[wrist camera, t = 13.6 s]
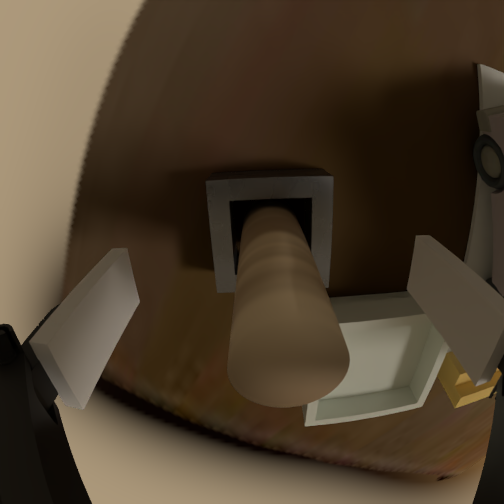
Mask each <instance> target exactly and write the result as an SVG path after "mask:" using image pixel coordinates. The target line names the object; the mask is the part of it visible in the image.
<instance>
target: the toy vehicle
mask: <svg viewBox="0 0 504 504" xmlns="http://www.w3.org/2000/svg"><path fill="white" fill-rule="evenodd" d="M476 115H477V119H478V124H479V129H480V131H482V133H484V134H483V135H481V136H480V137H478V138H477V140H476V142H475V143H474V147H473V159H474V162H475V166H476V170H477V171H478V173H479V175H480V177H481V179H482V180H483V181H484V182H485V183H486V184H487V185H488V186H489V187H492V188H495V189H498V190H496V191H494V192H492V193H491V201H492V218H493V269H492V277H491V278H489V279H487V280H486V282H487V283H488V284H489V285H491V286H492V287H494V288H495V289H496V290H497V291H498V292H500V293H501V294H502V296H504V105H502V106H497V107H492V108H487V109H483V110H478V111H477V112H476Z"/></svg>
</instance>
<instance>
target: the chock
mask: <svg viewBox="0 0 504 504" xmlns="http://www.w3.org/2000/svg"><path fill="white" fill-rule="evenodd" d="M501 374H502V373H501V372H500V370H499V369H498V368H497V370H496V371H495V373H494V375H493V377H492V379H491V381H489V382H486V383H484V384H481V385H478V386H475V385H474V384H473V382H472V381H471V379H470V377H469V376H468V374H467V373H466V371H465V370H464V368H463V367H462V365H461V364H460V362H459V361H458V359H457V358H456V356H455V355H454V353H453V352H448V353H446V355H445V358H444V360H443V363H442V365H441V367H440V370H439V372H438V374H437V377H438V378H439V380H440V382H441V384H442V386H443V387H444V389H445V391H446V393H447V395H448V397H449V398H450V400H451V402H452V404H453V406H454V408H457V407H460V406H463V405H466V404H469V403H472V402H474V401H477V400H480V399H482V398H485V397H488V396H489V395H490V393H491V391H492V390H493V388H494V386H495V385H496V383H497V381H498V379H499V378H500V376H501ZM495 393H497V392H495ZM495 393H494V394H495Z"/></svg>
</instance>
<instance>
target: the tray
mask: <svg viewBox="0 0 504 504" xmlns="http://www.w3.org/2000/svg"><path fill="white" fill-rule="evenodd" d="M329 299H330V301H331V304H332V307H333V309H334V312H335V315H336V317H337V320H338V323H339V326H340V328H341V331H342V334H343V337H344V339H345V342H346V345H347V348H348V351H349V355H350V364H349V368H348V372H347V374H346V376H345V377H344V379H343V380H342V382H341V383H340V384H339V385H338V386H337V387H336V388H335V389H334V390H333V391H332V392H330V393H329V394H328V395H326V396H324V397H322V398H321V399H318V400H316V401H314V402H311V403H308V404H305V405H302V409H303V416H304V424H305V426H314V425H324V424H332V423H340V422H347V421H354V420H360V419H366V418H372V417H377V416H382V415H387V414H392V413H397V412H401V411H406V410H410V409H414V408H418V407H422V405H423V403H424V401H425V399H426V397H427V395H428V393H429V391H430V389H431V387H432V385H433V383H434V381H435V379H436V376H437V374H438V372H439V370H440V367H441V365H442V363H443V360H444V358H445V355H446V353H447V350H448V348H449V346H448V345H447V343H446V342H445V340H444V339H443V337H442V336H441V335H440V333H439V332H438V330H437V329H436V328H435V326H434V325H433V323H432V322H431V321H430V319H429V318H428V317H427V315H426V314H425V313H424V311H423V310H422V309H421V307H420V306H419V305H418V303H417V302H416V301H415V299H414V298H413V297H412V295H411V294H410V293H409V292H408V291H403V292H393V293H382V294H370V295H358V296H345V297H331V298H329Z"/></svg>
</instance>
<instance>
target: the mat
mask: <svg viewBox="0 0 504 504" xmlns="http://www.w3.org/2000/svg"><path fill="white" fill-rule="evenodd" d="M477 70H478V82H479V101H480V110H483V109H487V108H492V107H497V106H502V105H504V73H502V72H500V71H497V70H495V69H492V68H490V67H487V66H485V65H482V64H477ZM483 134H484V133H482V131H480V136H481V135H483ZM496 190H498V189H495V188H492V187H489V186H488V185H487V184H486V183H485V182H484V181H483V180H482V179H481V177H480V175H479V173H478V175H477V185H476V194H475V202H474V209H473V216H472V222H471V228H470V234H469V239H468V244H467V249H466V254H465V258H464V263H465V264H466V265H467V266H468V267H470V268H471V269H472V270H473V271H474V272H475V273H476V274H478V275H479V276H480V277H481V278H482V279H483V280H484V281H486V280H487V279H489V278H491V277H492V269H493V218H492V201H491V193H492V192H494V191H496ZM448 352H452V350H451V349H450V347H449V348H448V350H447V353H448Z"/></svg>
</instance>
